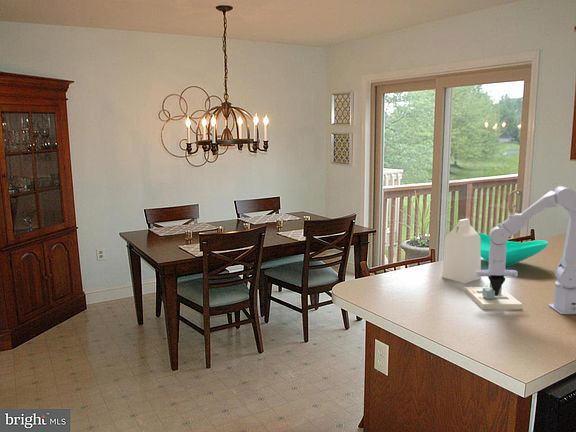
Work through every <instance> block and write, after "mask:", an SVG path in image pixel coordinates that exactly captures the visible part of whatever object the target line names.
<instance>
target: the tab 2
mask: <svg viewBox="0 0 576 432" xmlns="http://www.w3.org/2000/svg"><path fill="white" fill-rule="evenodd" d="M489 287H490V288H492V285H491V282H490V281H489ZM502 287H503V285H502V286H501V288H500V290H499V293H501V290H502V289H503V288H502Z"/></svg>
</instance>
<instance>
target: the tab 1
mask: <svg viewBox="0 0 576 432" xmlns="http://www.w3.org/2000/svg"><path fill="white" fill-rule="evenodd" d="M482 296H484V297H485V298H486V299H495V291H494V290H493V289H492V288H483V293H482Z"/></svg>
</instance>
